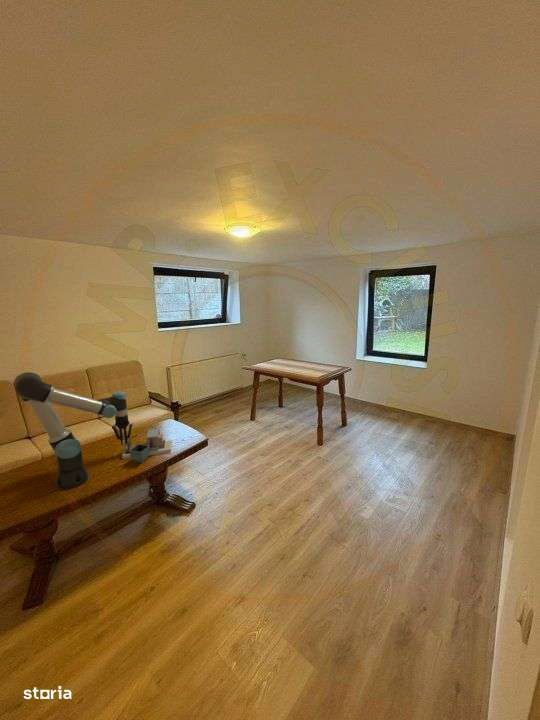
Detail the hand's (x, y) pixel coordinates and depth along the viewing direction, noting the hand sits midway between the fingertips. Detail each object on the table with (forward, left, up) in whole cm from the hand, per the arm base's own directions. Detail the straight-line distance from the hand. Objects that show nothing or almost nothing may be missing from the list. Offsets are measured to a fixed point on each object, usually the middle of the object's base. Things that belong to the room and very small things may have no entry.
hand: (124, 448), depth 197 cm
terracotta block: (+21, 0, 0) cm, 21 cm away
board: (+14, 0, -4) cm, 15 cm away
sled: (+14, 0, -1) cm, 14 cm away
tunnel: (+18, 0, -2) cm, 18 cm away
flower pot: (+11, -13, -4) cm, 18 cm away
